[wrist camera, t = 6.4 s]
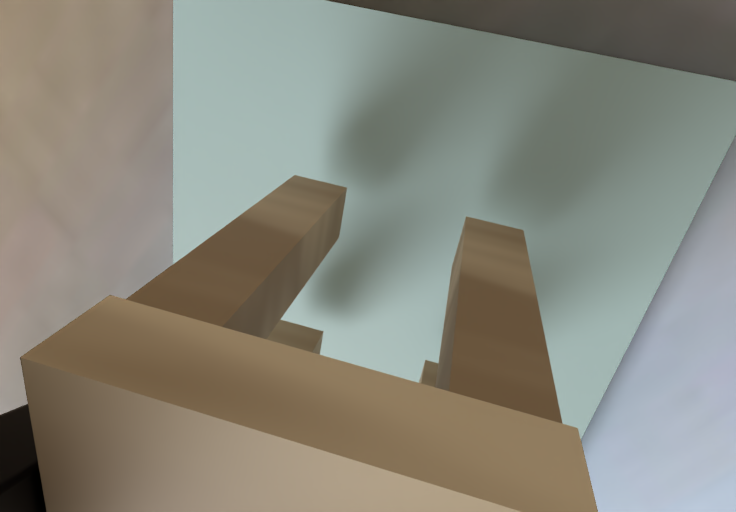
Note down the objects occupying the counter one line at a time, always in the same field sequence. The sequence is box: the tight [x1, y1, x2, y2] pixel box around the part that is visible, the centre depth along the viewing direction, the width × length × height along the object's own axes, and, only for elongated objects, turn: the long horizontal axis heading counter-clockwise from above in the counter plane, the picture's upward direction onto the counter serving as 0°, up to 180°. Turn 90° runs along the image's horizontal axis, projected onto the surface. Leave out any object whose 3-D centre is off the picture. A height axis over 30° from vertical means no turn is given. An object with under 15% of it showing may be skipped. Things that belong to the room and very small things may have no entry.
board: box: [173, 0, 736, 439], centre depth 13 cm, size 12×12×1 cm
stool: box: [20, 175, 598, 512], centre depth 8 cm, size 5×5×7 cm
